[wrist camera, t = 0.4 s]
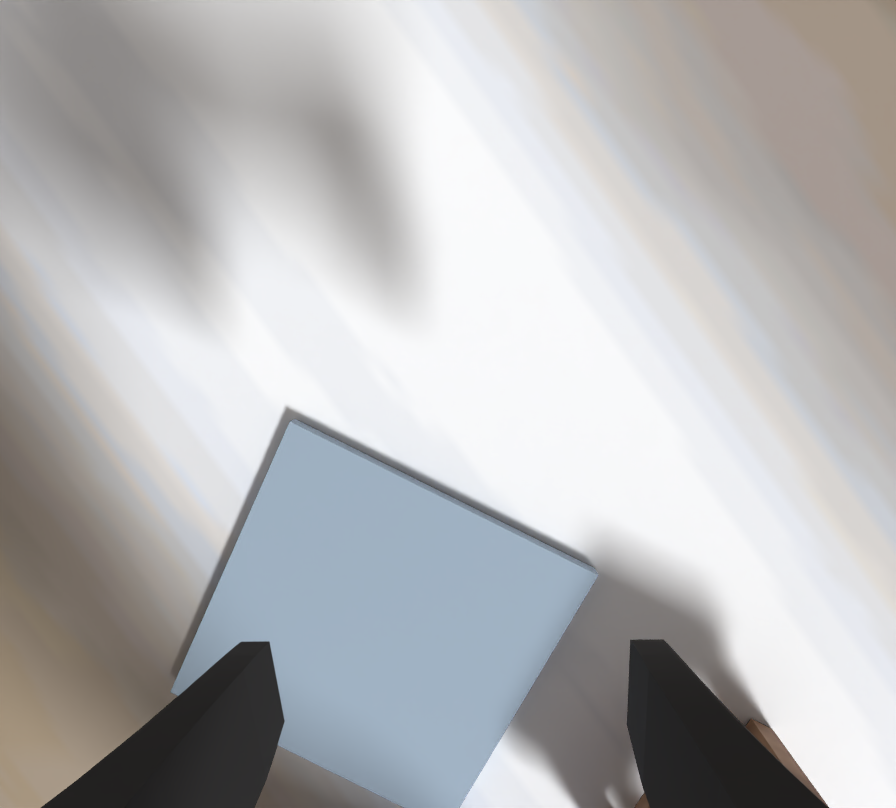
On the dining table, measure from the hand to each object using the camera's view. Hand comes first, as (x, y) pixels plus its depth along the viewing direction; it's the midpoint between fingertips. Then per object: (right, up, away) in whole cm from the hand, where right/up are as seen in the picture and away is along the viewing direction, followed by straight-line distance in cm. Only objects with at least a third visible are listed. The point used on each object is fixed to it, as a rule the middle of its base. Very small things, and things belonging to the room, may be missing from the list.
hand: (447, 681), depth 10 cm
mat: (-3, -4, +12) cm, 13 cm away
